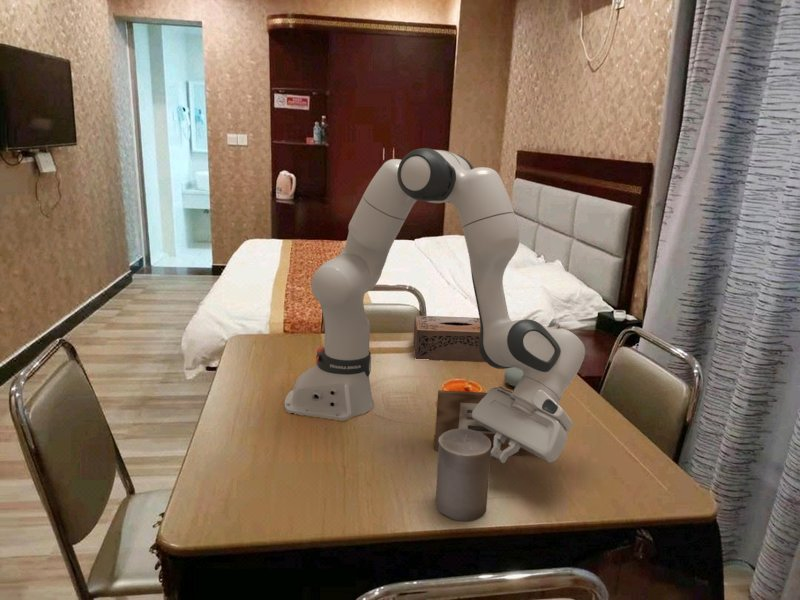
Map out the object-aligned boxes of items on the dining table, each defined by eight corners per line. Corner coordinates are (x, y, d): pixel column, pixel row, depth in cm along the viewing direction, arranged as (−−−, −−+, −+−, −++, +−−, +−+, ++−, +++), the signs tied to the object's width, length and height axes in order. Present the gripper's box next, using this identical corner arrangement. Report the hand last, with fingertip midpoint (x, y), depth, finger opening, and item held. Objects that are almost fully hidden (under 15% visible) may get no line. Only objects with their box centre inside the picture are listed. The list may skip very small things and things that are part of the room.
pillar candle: (481, 490, 115) (486, 422, 111) (490, 522, 106) (497, 448, 101) (432, 490, 114) (436, 421, 110) (437, 522, 105) (442, 448, 101)
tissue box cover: (489, 346, 195) (492, 318, 192) (498, 363, 181) (501, 332, 178) (413, 344, 194) (414, 315, 191) (415, 360, 180) (417, 329, 177)
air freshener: (511, 374, 172) (514, 343, 169) (539, 380, 168) (543, 348, 166) (501, 388, 162) (504, 354, 159) (530, 394, 159) (534, 360, 156)
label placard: (434, 450, 128) (438, 396, 125) (434, 439, 133) (437, 386, 130) (543, 456, 128) (550, 401, 125) (538, 444, 133) (545, 391, 129)
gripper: (488, 376, 123) (452, 430, 120) (569, 413, 108) (531, 476, 105) (500, 390, 128) (465, 443, 124) (580, 428, 112) (543, 489, 109)
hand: (496, 459), depth 114 cm, fingers closed
